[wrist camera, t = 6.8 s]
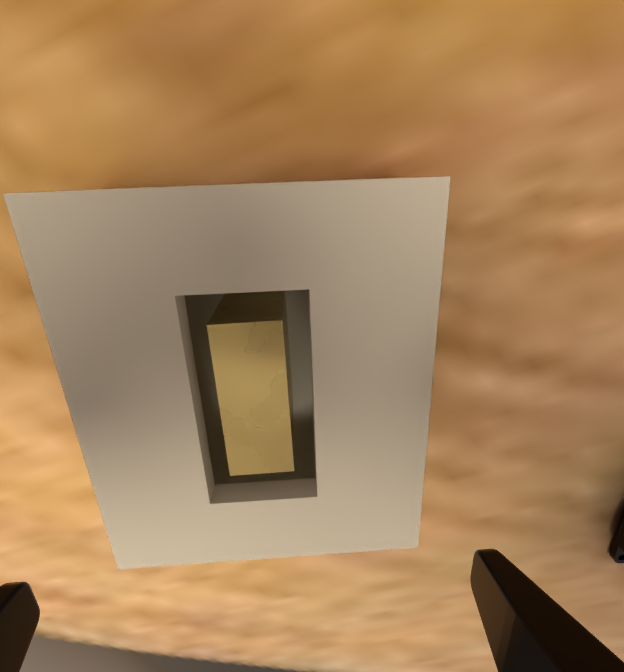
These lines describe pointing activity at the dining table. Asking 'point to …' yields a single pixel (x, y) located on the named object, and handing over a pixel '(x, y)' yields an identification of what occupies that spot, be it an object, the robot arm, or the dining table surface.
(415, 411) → the moneybox
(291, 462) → the two-tone wooden block
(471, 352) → the dining table surface
